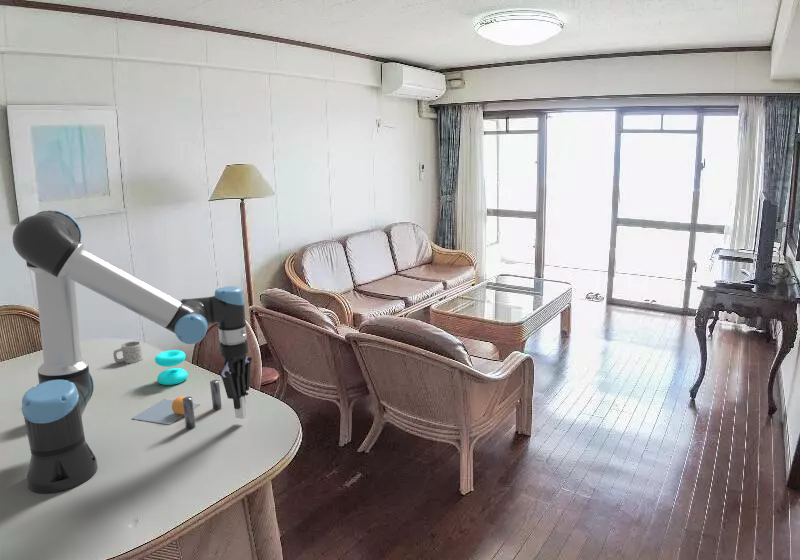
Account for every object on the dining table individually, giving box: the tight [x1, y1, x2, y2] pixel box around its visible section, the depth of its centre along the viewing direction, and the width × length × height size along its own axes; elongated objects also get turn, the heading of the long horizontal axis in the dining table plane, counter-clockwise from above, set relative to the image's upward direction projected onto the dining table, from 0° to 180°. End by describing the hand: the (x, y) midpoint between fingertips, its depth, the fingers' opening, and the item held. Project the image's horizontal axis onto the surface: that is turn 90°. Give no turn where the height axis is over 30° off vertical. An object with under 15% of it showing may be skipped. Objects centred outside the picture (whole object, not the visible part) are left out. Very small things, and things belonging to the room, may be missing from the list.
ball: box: [172, 396, 186, 415], centre depth 176 cm, size 6×6×6 cm
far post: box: [209, 379, 223, 411], centre depth 178 cm, size 3×3×9 cm
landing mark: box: [130, 398, 201, 426], centre depth 178 cm, size 14×14×1 cm
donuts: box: [154, 349, 189, 386], centre depth 201 cm, size 10×10×10 cm
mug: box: [113, 340, 144, 364], centre depth 221 cm, size 10×7×7 cm
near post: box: [183, 396, 196, 430], centre depth 167 cm, size 3×3×9 cm
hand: (240, 417), depth 169 cm, fingers closed
